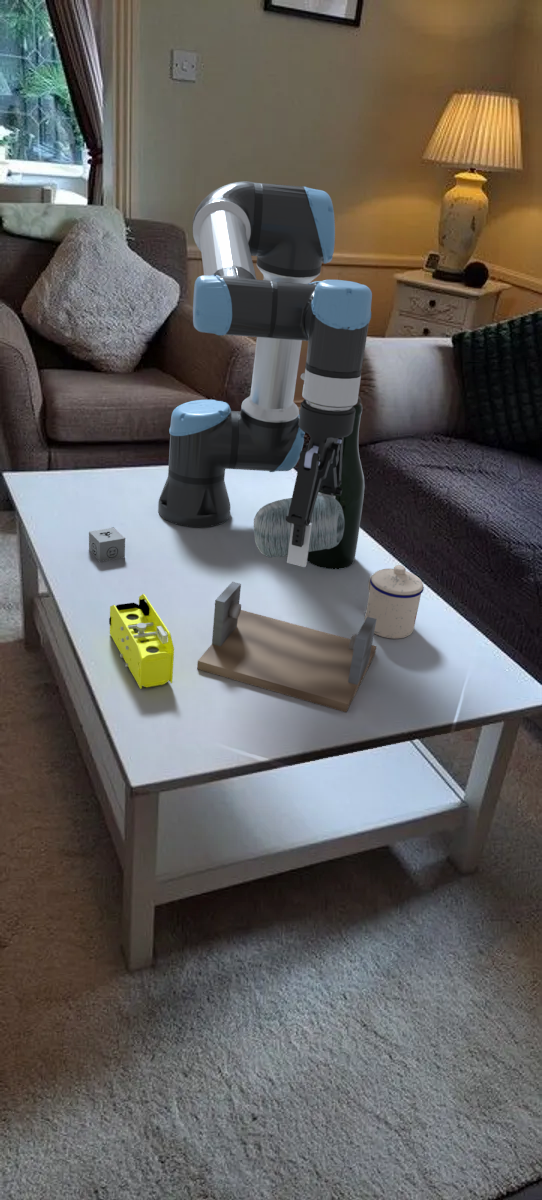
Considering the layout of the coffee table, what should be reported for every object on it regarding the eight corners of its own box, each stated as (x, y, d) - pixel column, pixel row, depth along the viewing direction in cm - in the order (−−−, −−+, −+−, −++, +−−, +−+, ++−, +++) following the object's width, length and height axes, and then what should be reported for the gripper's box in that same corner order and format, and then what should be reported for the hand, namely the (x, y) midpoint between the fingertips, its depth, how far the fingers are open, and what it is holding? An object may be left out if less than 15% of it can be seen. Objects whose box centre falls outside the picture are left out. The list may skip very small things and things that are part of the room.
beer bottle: (362, 569, 168) (391, 404, 153) (313, 573, 165) (337, 405, 149) (341, 546, 177) (365, 387, 161) (293, 549, 173) (314, 387, 157)
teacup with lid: (424, 635, 148) (438, 576, 143) (380, 644, 144) (392, 583, 139) (387, 602, 157) (398, 545, 152) (344, 609, 154) (354, 551, 148)
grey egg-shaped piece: (337, 525, 133) (321, 468, 128) (361, 550, 125) (345, 491, 120) (257, 559, 132) (237, 503, 126) (275, 587, 124) (255, 528, 118)
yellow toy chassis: (175, 687, 128) (177, 639, 124) (138, 693, 125) (139, 645, 121) (141, 632, 140) (143, 587, 136) (107, 637, 138) (108, 592, 134)
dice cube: (113, 551, 165) (113, 527, 162) (124, 562, 161) (125, 538, 159) (88, 555, 162) (88, 531, 160) (99, 566, 159) (99, 542, 156)
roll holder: (240, 617, 147) (244, 568, 143) (375, 653, 141) (384, 603, 137) (197, 668, 132) (200, 615, 128) (346, 712, 126) (356, 658, 122)
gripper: (327, 379, 127) (309, 515, 138) (273, 418, 107) (257, 574, 118) (376, 389, 125) (354, 526, 136) (330, 430, 106) (309, 587, 116)
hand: (309, 548), depth 127 cm, fingers closed on grey egg-shaped piece, 11 cm apart
